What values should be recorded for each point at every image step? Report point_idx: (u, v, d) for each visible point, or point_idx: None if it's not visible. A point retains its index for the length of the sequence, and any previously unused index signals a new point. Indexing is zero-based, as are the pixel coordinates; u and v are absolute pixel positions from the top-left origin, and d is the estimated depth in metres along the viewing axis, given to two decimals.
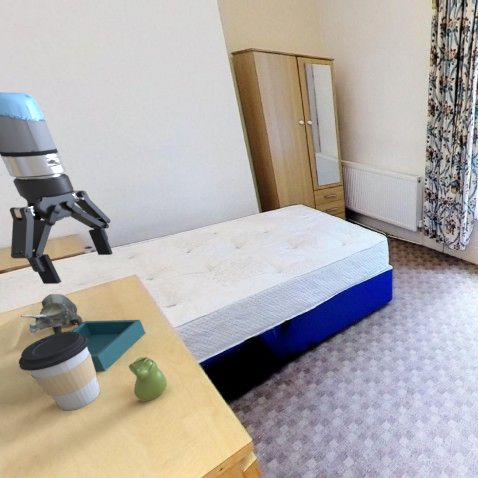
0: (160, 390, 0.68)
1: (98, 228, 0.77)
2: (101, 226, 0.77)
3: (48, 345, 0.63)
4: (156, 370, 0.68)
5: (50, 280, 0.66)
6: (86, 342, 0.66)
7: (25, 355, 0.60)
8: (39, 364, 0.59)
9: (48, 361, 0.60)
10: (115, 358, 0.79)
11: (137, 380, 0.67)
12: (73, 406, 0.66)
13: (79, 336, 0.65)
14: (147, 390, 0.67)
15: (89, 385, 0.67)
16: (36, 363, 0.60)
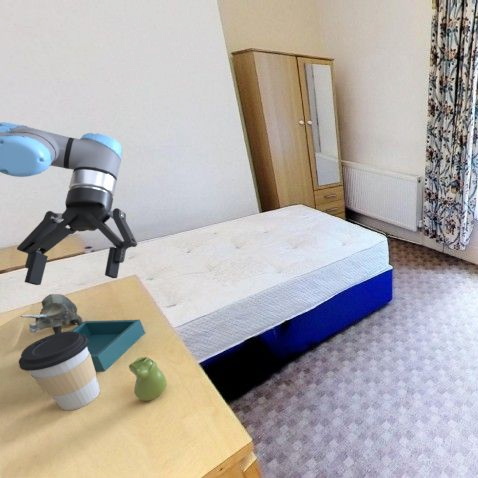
0: (160, 390, 0.68)
1: (40, 253, 0.70)
2: None
3: (47, 345, 0.63)
4: (156, 370, 0.68)
5: (114, 273, 0.71)
6: (86, 342, 0.66)
7: (25, 355, 0.60)
8: (39, 364, 0.59)
9: (48, 361, 0.60)
10: (115, 358, 0.79)
11: (137, 380, 0.67)
12: (73, 406, 0.66)
13: (79, 336, 0.65)
14: (147, 389, 0.67)
15: (89, 385, 0.67)
16: (36, 363, 0.60)
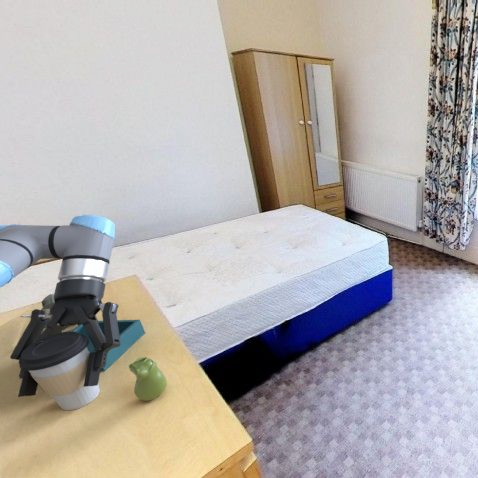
0: (160, 390, 0.68)
1: None
2: None
3: (47, 345, 0.63)
4: (156, 370, 0.68)
5: (94, 381, 0.66)
6: (86, 342, 0.66)
7: (25, 355, 0.60)
8: (39, 365, 0.59)
9: (48, 361, 0.60)
10: (115, 358, 0.79)
11: (137, 380, 0.67)
12: (73, 406, 0.66)
13: (79, 336, 0.65)
14: (147, 390, 0.67)
15: None
16: (36, 363, 0.60)
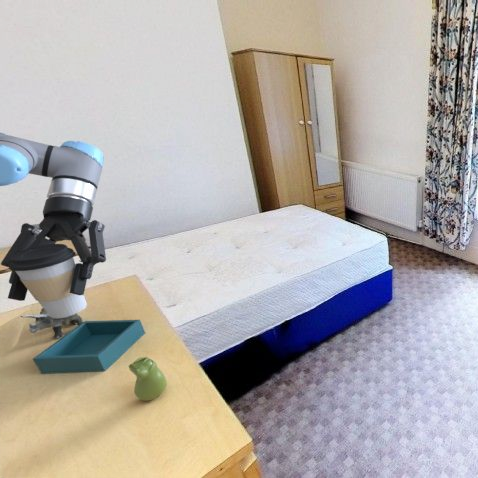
0: (160, 390, 0.68)
1: None
2: None
3: (36, 252, 0.66)
4: (156, 370, 0.68)
5: (80, 290, 0.69)
6: (72, 253, 0.69)
7: (13, 257, 0.64)
8: (26, 266, 0.63)
9: (35, 264, 0.64)
10: (115, 358, 0.79)
11: (137, 380, 0.67)
12: (60, 314, 0.70)
13: (66, 247, 0.69)
14: (147, 390, 0.67)
15: (75, 296, 0.71)
16: (24, 264, 0.63)
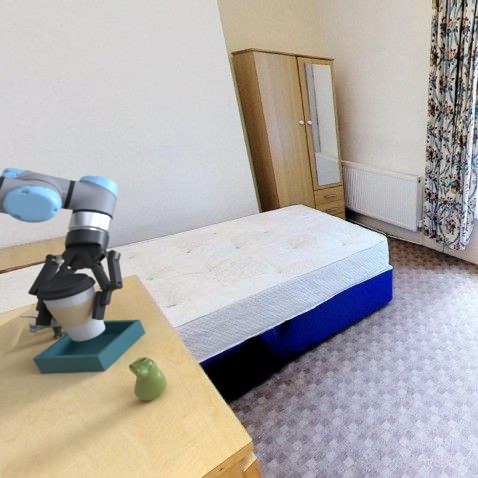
0: (160, 390, 0.68)
1: None
2: None
3: (60, 282, 0.73)
4: (156, 370, 0.68)
5: (100, 315, 0.76)
6: (93, 282, 0.76)
7: (41, 288, 0.70)
8: (53, 296, 0.70)
9: (61, 294, 0.70)
10: (115, 358, 0.79)
11: (137, 380, 0.67)
12: (82, 338, 0.76)
13: (87, 276, 0.75)
14: (147, 389, 0.67)
15: (95, 320, 0.77)
16: (51, 294, 0.70)
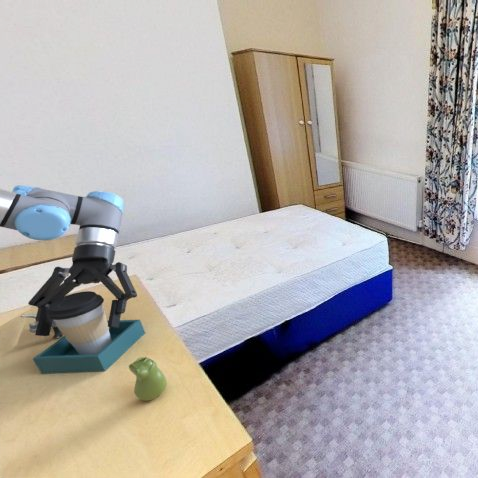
0: (160, 390, 0.68)
1: None
2: None
3: (70, 300, 0.75)
4: (156, 370, 0.68)
5: (116, 323, 0.78)
6: (101, 300, 0.78)
7: (52, 307, 0.72)
8: (63, 315, 0.72)
9: (71, 313, 0.72)
10: (115, 358, 0.79)
11: (137, 380, 0.67)
12: None
13: (96, 295, 0.77)
14: (147, 389, 0.67)
15: (103, 337, 0.79)
16: (61, 314, 0.72)
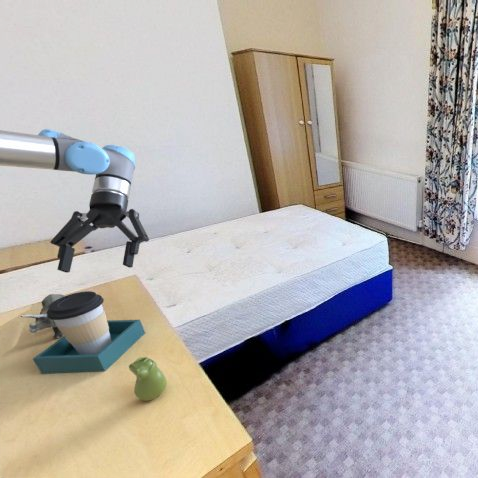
0: (160, 390, 0.68)
1: None
2: None
3: (70, 300, 0.75)
4: (156, 370, 0.68)
5: (130, 263, 0.85)
6: (101, 300, 0.78)
7: (52, 307, 0.72)
8: (63, 315, 0.72)
9: (71, 313, 0.72)
10: (115, 358, 0.79)
11: (137, 380, 0.67)
12: None
13: (95, 295, 0.77)
14: (147, 389, 0.67)
15: (103, 337, 0.79)
16: (61, 314, 0.72)
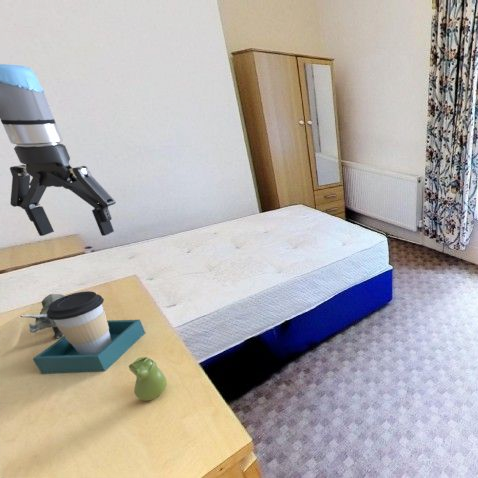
0: (160, 390, 0.68)
1: (34, 206, 0.75)
2: None
3: (70, 300, 0.75)
4: (156, 370, 0.68)
5: (109, 230, 0.79)
6: (101, 300, 0.78)
7: (52, 307, 0.72)
8: (63, 315, 0.72)
9: (71, 313, 0.72)
10: (115, 358, 0.79)
11: (137, 380, 0.67)
12: None
13: (95, 295, 0.77)
14: (147, 390, 0.67)
15: (103, 337, 0.79)
16: (61, 314, 0.72)
